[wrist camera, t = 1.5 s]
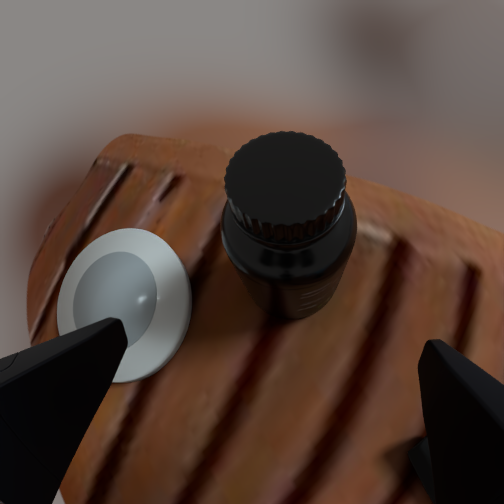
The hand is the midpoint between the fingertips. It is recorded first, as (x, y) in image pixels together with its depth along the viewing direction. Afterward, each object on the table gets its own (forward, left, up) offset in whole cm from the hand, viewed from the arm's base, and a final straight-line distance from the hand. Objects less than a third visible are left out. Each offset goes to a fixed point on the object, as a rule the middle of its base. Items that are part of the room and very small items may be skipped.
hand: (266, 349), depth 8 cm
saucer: (-3, +14, -13) cm, 19 cm away
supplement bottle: (+6, +3, -13) cm, 14 cm away
